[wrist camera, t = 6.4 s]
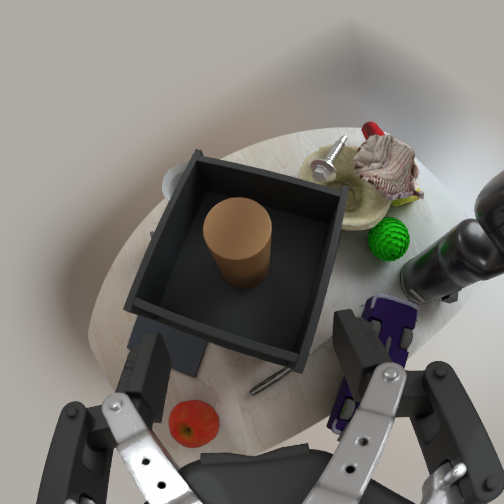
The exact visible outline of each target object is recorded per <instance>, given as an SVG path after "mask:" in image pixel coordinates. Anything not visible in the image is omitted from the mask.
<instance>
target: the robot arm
mask: <svg viewBox="0 0 504 504" xmlns="http://www.w3.org/2000/svg"><path fill="white" fill-rule="evenodd" d="M474 212H475V216H476V219H466V220H463V221H462V222H460V223H459V224H458V225H456V226H455V227H454V228H453V229H451V230H450V231H449V232H447V233H446V234H445V235H444V236H442V237H441V238H440V239H439V240H437V241H436V242H435V243H433V244H432V245H431V246H429V247H428V248H427V249H425V250H424V251H423V252H421V253H420V254H419V255H417V256H416V257H414V258H412V259H411V260H409V261H408V262H407V263H406V264H405V265H404V267H403V269H402V272H401V286H402V289H403V291H404V293H405V295H406V296H407V297H408V298H409V299H410V300H411V301H413V302H414V303H417V304H426V303H428V302H431V301H432V300H434V301H436V300H438V299H442V300H441V301H443V302H447V303H452V302H455V301H457V300H458V292H459V291H461V290H462V288H464V287H466V286H469V285H471V284H473V283H475V282H477V281H480V280H489V279H491V278H494V277H496V276H499V275H501V274H504V171H502V172H501V173H499V174H498V175H497V176H495V177H494V178H493V179H492V180H491V181H490V182H489V183H487V185H486V186H485V187H484V188H483V189H482V191H481V192H480V194H479V195H478V198H477V199H476V202H475V207H474ZM332 338H333V346H334V349H335V352H336V354H337V357H338V359H339V362H340V365H341V367H342V370H343V372H344V375H345V378H346V380H347V383H348V386H349V388H350V391H351V394H352V396H353V399H354V402H357V401H361V400H362V402H361V404H360V406H359V408H357V410H356V412H355V414H354V416H353V418H352V420H351V422H350V424H349V426H348V428H347V430H346V432H345V434H344V436H343V438H342V440H341V442H340V443H339V445H338V447H337V449H336V451H335V453H334V455H333V454H331V453H328V452H325V451H321V450H315V449H309V446H308V443H306V444H300V445H294V446H288V447H281V448H278V449H276V450H273V451H270V452H267V453H264V454H261V455H258V456H246V455H239V454H233V453H201V460H197V461H194V462H191V463H189V464H187V465H185V466H184V467H182V468H180V467H179V466H178V464H177V463H176V462H175V461H174V459H173V458H172V457H171V455H170V454H169V453H168V451H167V450H166V449H165V447H164V446H163V444H162V443H161V442H160V440H159V439H158V437H157V436H156V434H155V433H154V431H153V430H152V425H153V423H161V422H162V416H163V410H164V404H165V398H166V393H167V387H168V382H169V377H170V372H171V357H170V354H169V352H168V350H167V347H166V345H165V342H164V340H163V337H162V335H161V334H160V333H149V334H144V335H143V338H142V340H141V343H140V345H135V346H134V347H133V348H132V350H131V351H130V352H129V354H128V357H127V360H126V362H125V365H124V369H123V371H122V374H121V377H120V380H119V383H118V386H117V389H116V392H115V393H114V394H111V395H109V396H108V397H107V398H106V399H105V400H104V401H103V403H102V405H99V406H94V407H90V408H86V407H85V406H84V405H83V404H82V403H81V402H77V401H74V402H71V403H68V404H67V405H66V406H64V408H63V409H62V411H61V414H60V416H59V419H58V422H57V426H56V429H55V432H54V435H53V438H52V442H51V445H50V448H49V452H48V456H47V459H46V463H45V467H44V471H43V475H42V479H41V483H40V488H39V492H38V498H37V502H36V504H106V498H107V490H108V482H109V475H110V468H111V462H112V456H113V449H114V448H117V450H118V452H119V454H120V456H121V458H122V459H123V461H124V463H125V465H126V467H127V468H128V470H129V472H130V474H131V475H132V477H133V479H134V480H135V482H136V484H137V485H138V487H139V489H140V490H141V492H142V493H143V495H144V496H145V498H146V499H147V501H146V502H145V503H144V504H415V503H413V502H412V501H410V500H408V499H406V498H404V497H402V496H400V495H399V494H397V493H395V492H393V491H392V490H390V489H388V488H387V487H385V486H383V485H381V484H380V483H378V482H376V481H375V480H373V479H371V477H372V474H373V472H374V470H375V468H376V466H377V464H378V461H379V459H380V457H381V454H382V452H383V449H384V447H385V444H386V442H387V439H388V437H389V434H390V431H391V429H392V426H393V423H394V420H395V417H410V420H411V423H412V425H413V428H414V430H415V434H416V436H417V439H418V442H419V445H420V447H421V450H422V453H423V456H424V459H425V462H426V465H427V468H428V471H429V474H430V476H429V477H428V478H427V479H426V480H425V482H424V484H423V487H422V494H423V497H422V501H421V503H420V504H487V503H489V502H491V501H492V500H494V499H496V498H497V497H498V496H499V495H500V494H501V493H502V491H503V489H504V470H503V468H502V465H501V463H500V461H499V458H498V456H497V453H496V451H495V449H494V447H493V444H492V442H491V440H490V438H489V436H488V433H487V431H486V429H485V427H484V425H483V423H482V421H481V419H480V417H479V415H478V413H477V411H476V409H475V407H474V406H473V404H472V402H471V400H470V398H469V396H468V394H467V393H466V391H465V389H464V387H463V385H462V384H461V382H460V380H459V378H458V377H457V375H456V373H455V371H454V370H453V368H452V367H451V366H450V365H449V364H447V363H445V362H442V361H435V362H432V363H430V364H429V365H428V366H427V367H426V369H425V370H423V371H407V370H405V369H404V368H403V367H402V366H401V365H399V364H397V363H393V362H392V360H391V358H390V356H389V355H388V353H387V351H386V349H385V347H384V346H383V344H382V342H381V340H380V339H379V337H378V335H377V333H375V330H374V328H373V327H372V325H371V323H369V322H368V321H367V320H365V319H364V318H358V319H356V317H355V315H354V313H353V312H352V310H351V309H347V310H341V311H336V312H334V321H333V336H332Z"/></svg>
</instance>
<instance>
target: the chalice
mask: <svg viewBox="0 0 504 504" xmlns="http://www.w3.org/2000/svg"><path fill="white" fill-rule="evenodd" d="M188 163H189V162H183V163H179V164H177V165H175V166H174V167H172V168H171V169H170V170H169V171H168V172H167V174H166V175H165V177H164V179H163V183H162V191H163V193H164V196H165V197H166V198H167V200H168V201H169V200H170V198H171V196H172V194H173V192H174V190H175V188H176V186H177V184H178V182H179V180H180V178H181V176H182V174H183V172H184V171H185V169H186V167H187V165H188Z"/></svg>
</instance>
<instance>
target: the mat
mask: <svg viewBox="0 0 504 504" xmlns="http://www.w3.org/2000/svg"><path fill="white" fill-rule="evenodd" d="M149 333H160V334H161V335H162V337H163V340H164V342H165V345H166V347H167V350H168V352H169V354H170V357H171V368H173V369H175V370H177V371H180V372H182V373H185V374H187V375H190V376H192V377H195V376H196V373H197V370H198V368H199V365H200V362H201V359H202V356H203V353H204V350H205V347H206V344H207V342H208V341H205V340H202V339H200V338H197V337H194V336H192V335H189V334H186V333H184V332H181V331H179V330H176V329H174V328H171V327H169V326H166V325H164V324H161V323H159V322H156V321H154V320H151V319H148V318H145V317H142V316H139V315H138V317H137V320H136V323H135V326H134V328H133V331H132V334H131V337H130V340H129V343H128V346H127V348H129V349H131V350H132V348H133V347H134V346H135V345H140V343H141V340H142V338H143V335H144V334H149Z"/></svg>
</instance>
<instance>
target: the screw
mask: <svg viewBox="0 0 504 504" xmlns="http://www.w3.org/2000/svg"><path fill="white" fill-rule="evenodd" d="M346 140H347V137H346V136H345V135H344V136H342V137H341V138H340V139H339V140H338V141H336V142H335V144H334V145H333V147H332V148H331V150H330V151H329V153H328V154H327V156H326V157H325V159H315V160H313V161H312V163H311V165H310V169H311V171H312V173H313V174H312V177H313V178H314V180H315V181H316V182H320V183H324V182H325V181H326V182H330V181H333V180H334V179H335V178H336V175H337V172H336V169H335V168H334V166H333V164H334V163H335V161H336V159H337V157H338V156H339V154H340V153H341V151H342V150H343V148H344V145H345V144H344V143H345V141H346Z"/></svg>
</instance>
